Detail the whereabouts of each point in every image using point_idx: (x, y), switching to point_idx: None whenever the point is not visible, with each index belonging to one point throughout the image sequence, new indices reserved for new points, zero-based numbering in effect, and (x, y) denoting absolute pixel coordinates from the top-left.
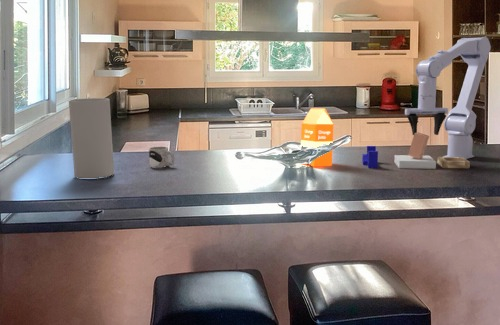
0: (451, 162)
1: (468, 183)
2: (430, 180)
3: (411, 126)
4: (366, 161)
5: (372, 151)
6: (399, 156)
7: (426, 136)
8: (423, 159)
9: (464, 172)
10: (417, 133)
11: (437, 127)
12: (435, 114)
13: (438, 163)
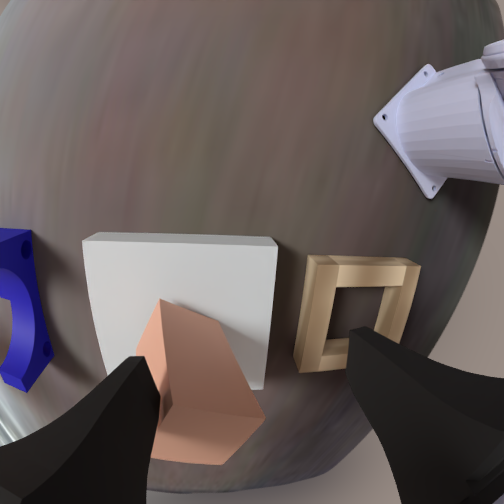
0: (330, 368)
1: (282, 475)
2: (204, 467)
3: (84, 408)
4: (8, 298)
5: (11, 382)
6: (103, 278)
7: (226, 459)
8: None
9: (332, 403)
10: (162, 450)
11: (374, 425)
12: (494, 464)
13: (305, 280)
